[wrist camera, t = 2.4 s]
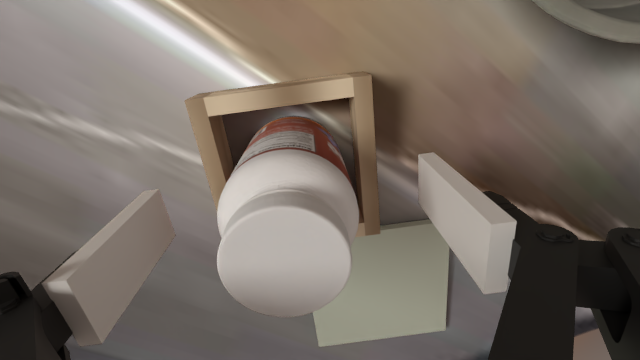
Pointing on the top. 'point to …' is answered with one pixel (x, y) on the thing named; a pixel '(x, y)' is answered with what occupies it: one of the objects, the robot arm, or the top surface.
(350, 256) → the pill bottle
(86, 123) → the top surface
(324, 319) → the coaster
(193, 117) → the pocket frame
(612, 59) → the top surface
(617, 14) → the cake pan
